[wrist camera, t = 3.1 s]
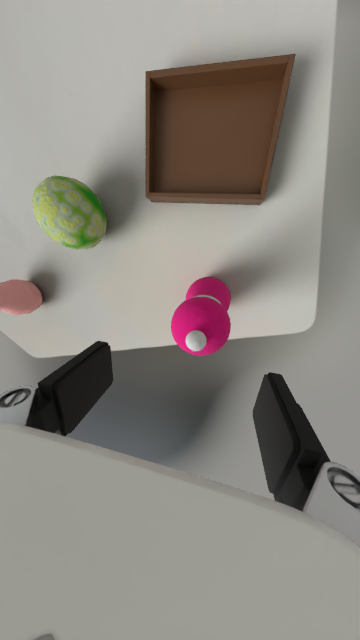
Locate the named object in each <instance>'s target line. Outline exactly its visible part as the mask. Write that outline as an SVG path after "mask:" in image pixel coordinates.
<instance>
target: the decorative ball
mask: <svg viewBox="0 0 360 640" xmlns="http://www.w3.org/2000/svg"><path fill="white" fill-rule="evenodd" d="M32 202H33V208H34V213H35V217H36V219H37V222H38V223H39V225H40V226H41V227H42V228H43V229H44V231H45V232H46V233H47V234H48V235H49V236H50V237H51V238H52V239H53V240H54V241H56V242H57V243H59V244H62V245H64V246H67V247H69V248H72V249H88V248H91V247H94V246H95V245H97V244H98V243H99V242H100V241H101V239H102V238H103V237H104V235H105V233H106V224H107V219H106V215H105V212H104V209H103V206H102V203H101V201H100V200H99V199H98V198H97V196H96V195H95V194H94V193H93V192H92V191H91V190H90V189H89V187H88V186H87V185H85V184H84V183H82V182H80V181H78V180H76V179H73V178H68V177H62V176H51V177H48V178H46V179H45V180H44V181H42V182H41V183H40V184H39V185H38V186H37V187H36V188H35V191H34V193H33V199H32Z"/></svg>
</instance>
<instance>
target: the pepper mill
mask: <svg viewBox="0 0 360 640" xmlns="http://www.w3.org/2000/svg"><path fill="white" fill-rule="evenodd" d="M230 300H231V297H230V292H229V289H228V288H227V286H226V285H225V284H224V283H223V282H222V281H220V280H219V279H216V278H213V277H204V278H201V279H199V280H197V281H195V282H194V283H193V284H192V285H191V286H190V288H189V289H188V292H187V294H186V301H184V302H183V303H182V304H181V305H180V306H179V307H178V308H177V309H176V311H175V312H174V315H173V318H172V322H171V330H172V335H173V338H174V340H175V341H176V343H177V344H178V346H180V347H181V348H182V349H183V350H185V351H186V352H188V353H190V354H193V355H209V354H212V353H214V352H216V351H218V350H219V349H220V348H221V347H222V346H223V345H224V344H225V343H226V341H227V339H228V337H229V334H230V326H231V324H230V318H229V316H228V313H227V311H228V309H229V306H230Z"/></svg>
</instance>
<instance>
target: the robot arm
mask: <svg viewBox="0 0 360 640" xmlns="http://www.w3.org/2000/svg"><path fill="white" fill-rule="evenodd" d="M112 382H113V373H112V362H111V350H110V346H109V345H108V343H107V342H101V341H97V342H95V343H94V344H93V345H91V346H90V347H88V348H87V349H85V350H84V351H83V352H81V353H80V354H78V355H77V356H76V357H74V358H73V359H71V360H70V361H68V362H67V363H66V364H64V365H63V366H61V367H60V368H59V369H57V370H56V371H54V372H53V373H52V374H50V375H49V376H47V377H46V378H44V379H43V380H42V381H40V382H39V383H38V386H39V387H38V388H37V389H34V387H32V386H19V387H16V388H13V389H11V390H8V391H6V392H4V393H3V394H1V395H0V640H360V477H359V476H358V475H357V474H355V473H354V472H353V471H351V470H349V469H348V468H346V467H345V466H342V465H340V464H338V463H335V462H331V461H330V459H329V458H328V456H327V454H326V452H325V450H324V448H323V447H322V445H321V443H320V441H319V439H318V438H317V436H316V434H315V432H314V430H313V428H312V426H311V425H310V423H309V421H308V419H307V417H306V415H305V414H304V412H303V410H302V408H301V407H300V405H299V404H297V403H296V401H295V399H294V397H293V395H292V393H291V392H290V390H289V388H288V386H287V384H286V382H285V380H284V378H283V377H282V375H280V374H275V373H268V375H264V378H263V381H262V384H261V387H260V390H259V393H258V396H257V400H256V403H255V406H254V409H253V419H254V424H255V429H256V433H257V438H258V443H259V447H260V451H261V457H262V461H263V466H264V471H265V475H266V480H267V485H268V488H269V491H270V493H273V494H274V499H275V501H274V500H272V499H269V498H265V497H263V496H259V495H256V494H253V493H250V492H247V491H244V490H241V489H238V488H235V487H232V486H229V485H225V484H222V483H219V482H216V481H212V480H209V479H206V478H202V477H199V476H196V475H193V474H189V473H186V472H182V471H179V470H176V469H173V468H169V467H166V466H163V465H160V464H156V463H152V462H149V461H146V460H142V459H140V458H136V457H132V456H129V455H126V454H123V453H119V452H116V451H113V450H109V449H106V448H103V447H99V446H96V445H92V444H88V443H85V442H82V441H78V440H75V439H71V438H68V437H65V436H66V435H67V434H68V433H71V432H72V431H73V430H74V429H75V427H76V426H77V425H78V424H79V423H80V421H81V420H82V419H83V418H84V417H85V415H86V414H87V413H88V412H89V411H90V409H91V408H92V407H93V406H94V405H95V403H96V402H97V401H98V400H99V399H100V397H101V396H102V395H103V394H104V393H105V391H106V390H107V389H108V388H109V387H110V385H111V384H112Z"/></svg>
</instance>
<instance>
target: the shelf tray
mask: <svg viewBox="0 0 360 640" xmlns="http://www.w3.org/2000/svg"><path fill="white" fill-rule="evenodd" d="M294 58H295V54H291V55H282V56H274V57H265V58H257V59H248V60H239V61H231V62H222V63H214V64H205V65H197V66H188V67H179V68H171V69H162V70H154V71H146V197H147V198H148V199H149V200H150V201H152V202H170V203H206V204H242V205H260V204H261V203H262V201H263V200H264V197H265V193H266V188H267V183H268V179H269V174H270V169H271V165H272V160H273V156H274V151H275V146H276V142H277V137H278V132H279V128H280V123H281V119H282V114H283V109H284V105H285V100H286V95H287V91H288V86H289V82H290V77H291V72H292V68H293V63H294Z"/></svg>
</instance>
